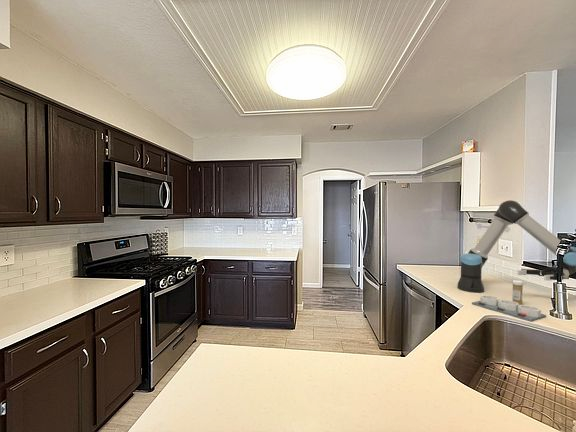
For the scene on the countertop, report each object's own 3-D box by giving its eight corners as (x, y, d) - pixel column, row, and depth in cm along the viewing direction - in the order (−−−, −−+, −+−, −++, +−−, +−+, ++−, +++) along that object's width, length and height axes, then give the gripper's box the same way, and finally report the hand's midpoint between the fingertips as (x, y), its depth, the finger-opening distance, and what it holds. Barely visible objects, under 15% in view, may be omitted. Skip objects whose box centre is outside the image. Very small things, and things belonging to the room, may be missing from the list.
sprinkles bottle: (524, 305, 153) (525, 281, 153) (518, 306, 152) (518, 282, 152) (516, 303, 158) (516, 279, 157) (509, 303, 157) (510, 280, 156)
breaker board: (471, 304, 154) (471, 297, 154) (487, 300, 161) (487, 294, 161) (531, 321, 130) (531, 313, 130) (546, 317, 137) (546, 309, 137)
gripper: (584, 284, 151) (557, 287, 145) (532, 275, 175) (508, 277, 169) (584, 271, 151) (557, 273, 145) (532, 263, 175) (508, 264, 169)
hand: (530, 275), depth 157 cm, fingers open, 13 cm apart
